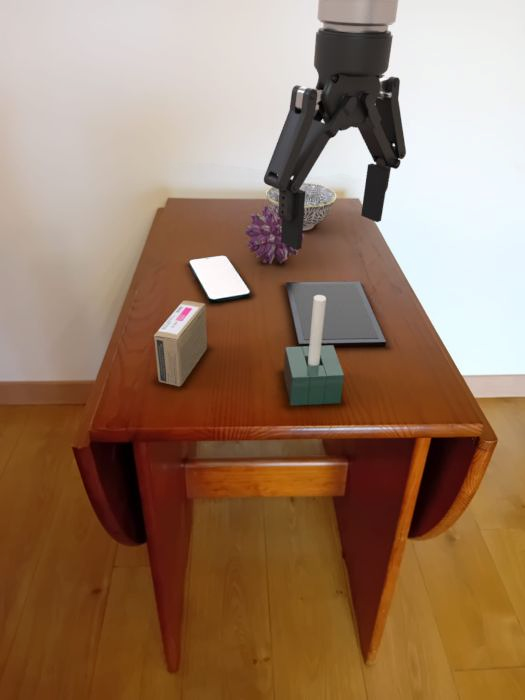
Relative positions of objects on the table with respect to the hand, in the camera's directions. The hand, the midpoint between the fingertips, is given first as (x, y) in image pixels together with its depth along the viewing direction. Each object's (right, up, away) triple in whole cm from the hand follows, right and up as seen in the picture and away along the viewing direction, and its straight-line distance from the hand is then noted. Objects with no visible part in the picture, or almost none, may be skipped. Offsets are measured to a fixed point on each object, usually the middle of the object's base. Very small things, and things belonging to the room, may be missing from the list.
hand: (333, 231), depth 65 cm
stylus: (-2, -20, +12) cm, 23 cm away
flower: (-6, +4, +45) cm, 46 cm away
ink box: (-20, -17, +16) cm, 31 cm away
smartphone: (-17, -1, +38) cm, 41 cm away
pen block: (-2, -20, +12) cm, 23 cm away
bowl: (0, +15, +61) cm, 62 cm away
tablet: (+3, -8, +29) cm, 30 cm away
